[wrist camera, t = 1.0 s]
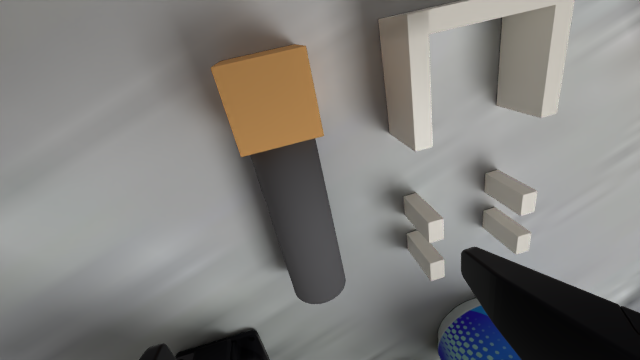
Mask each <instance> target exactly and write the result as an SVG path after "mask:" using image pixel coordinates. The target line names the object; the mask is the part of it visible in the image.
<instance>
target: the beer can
mask: <svg viewBox="0 0 640 360" xmlns="http://www.w3.org/2000/svg"><path fill="white" fill-rule="evenodd" d="M438 339H439V342H438V353H439V356H440V358H441V360H521V359H520V357H519V356H518V355H517V353H516V352H515V351H514V350H513V348H512V347H511V346H510V345H509V343H508V342H507V341H506V339H505V338H504V337H503V336H502V334H501V333H500V332H499V331H498V329H497V328H496V327H495V325H494V324H493V322H492V321H491V320H490V318H489V317H488V315H487V313H486V312H485V310H484V309H483V307H482V306H481V304H480V303H479V301H478V299H477V298H475V299H472V300H469V301H467V302H464V303H462V304H461V305H459V306H457V307H456V308H455V309H453V310H452V311H451V312H450V313H449V314H448V315H447V316H446V317H445V318H444V320H443V321H442V323H441V325H440V327H439V331H438Z"/></svg>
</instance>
